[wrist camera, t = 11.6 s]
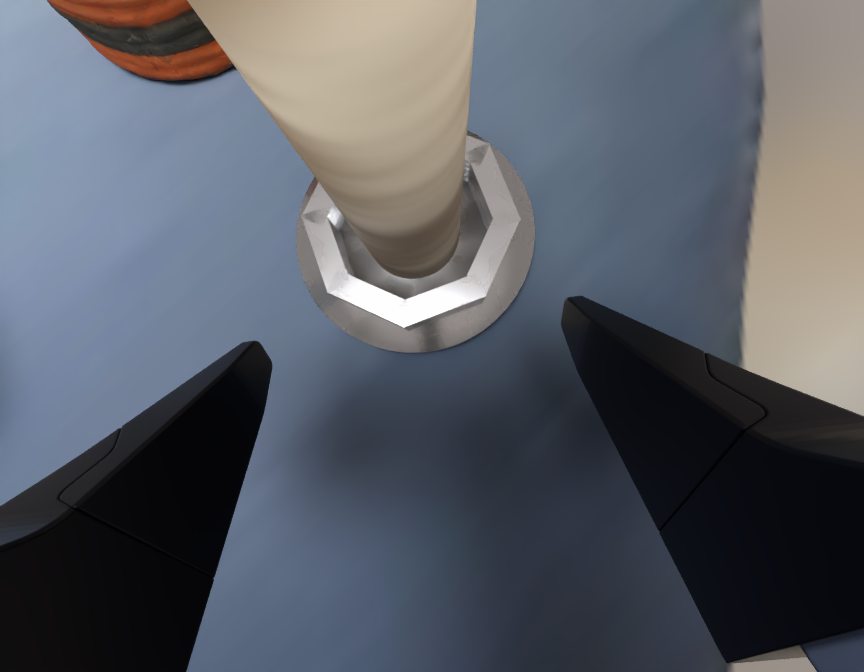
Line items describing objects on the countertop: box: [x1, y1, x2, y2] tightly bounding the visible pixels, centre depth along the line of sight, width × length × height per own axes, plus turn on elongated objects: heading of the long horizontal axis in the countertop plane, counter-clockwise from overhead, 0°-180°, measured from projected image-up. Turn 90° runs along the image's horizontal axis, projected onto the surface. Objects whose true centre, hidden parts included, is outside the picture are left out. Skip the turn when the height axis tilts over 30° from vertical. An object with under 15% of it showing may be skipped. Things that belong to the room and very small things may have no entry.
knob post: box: [187, 0, 476, 279], centre depth 11 cm, size 5×5×12 cm
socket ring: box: [296, 131, 535, 353], centre depth 17 cm, size 13×13×3 cm
